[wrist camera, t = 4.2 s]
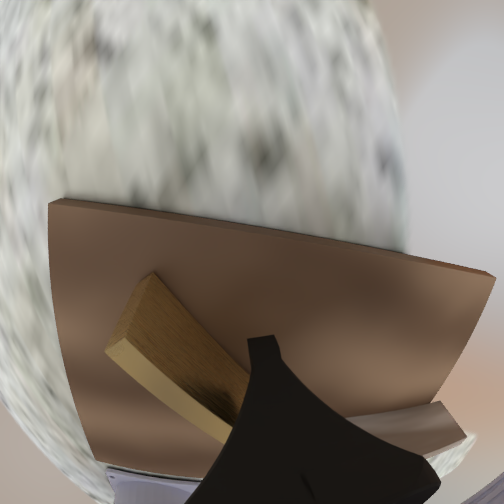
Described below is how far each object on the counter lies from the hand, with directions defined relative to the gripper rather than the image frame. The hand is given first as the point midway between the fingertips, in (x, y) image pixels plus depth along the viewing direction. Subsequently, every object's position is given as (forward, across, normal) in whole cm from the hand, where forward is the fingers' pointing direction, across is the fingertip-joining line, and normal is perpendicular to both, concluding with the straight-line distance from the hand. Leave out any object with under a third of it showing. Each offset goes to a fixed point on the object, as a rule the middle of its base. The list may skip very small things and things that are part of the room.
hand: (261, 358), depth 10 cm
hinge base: (+3, -2, +5) cm, 6 cm away
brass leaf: (+1, +1, +2) cm, 3 cm away
